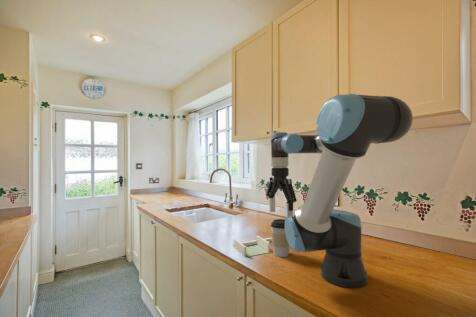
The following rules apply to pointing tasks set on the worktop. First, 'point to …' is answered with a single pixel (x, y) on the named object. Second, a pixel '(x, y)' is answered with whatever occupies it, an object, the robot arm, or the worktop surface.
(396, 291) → the worktop surface
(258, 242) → the e-shaped divided frame
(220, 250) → the worktop surface
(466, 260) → the worktop surface
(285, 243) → the coffee cup
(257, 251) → the pad
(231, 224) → the worktop surface
